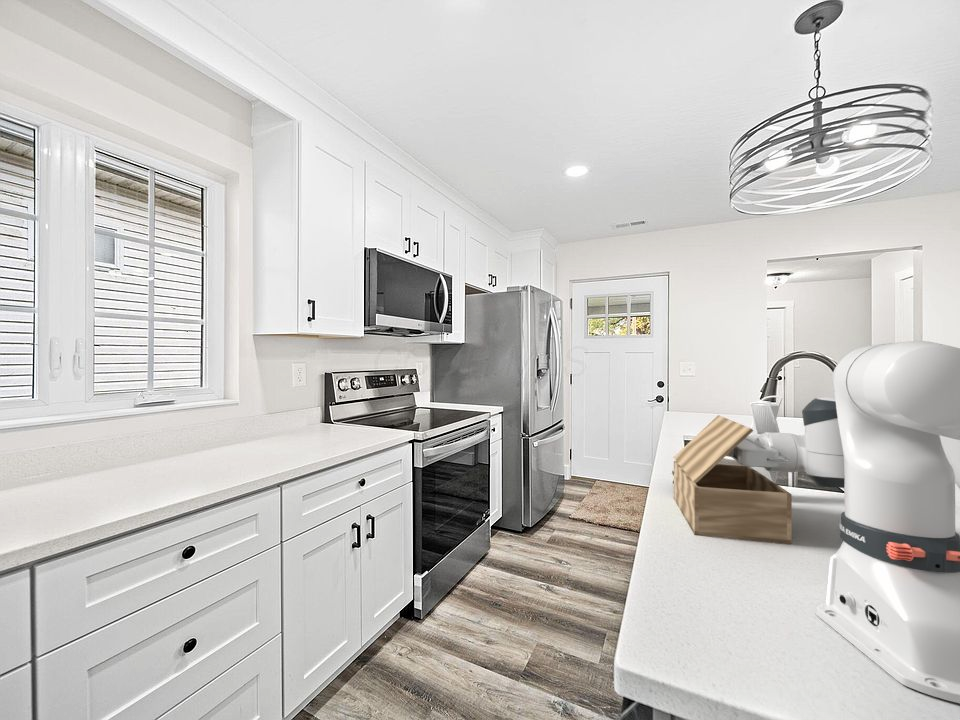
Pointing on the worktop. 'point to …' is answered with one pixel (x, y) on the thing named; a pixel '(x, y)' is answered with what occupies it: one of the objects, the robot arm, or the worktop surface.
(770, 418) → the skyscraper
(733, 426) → the lid flap
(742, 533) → the wooden box
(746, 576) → the worktop surface
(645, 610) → the worktop surface
